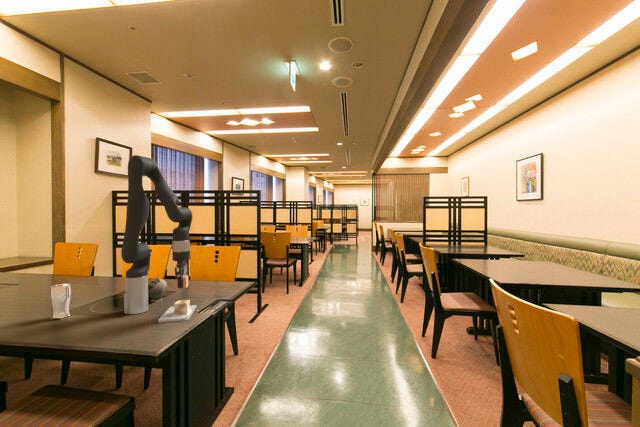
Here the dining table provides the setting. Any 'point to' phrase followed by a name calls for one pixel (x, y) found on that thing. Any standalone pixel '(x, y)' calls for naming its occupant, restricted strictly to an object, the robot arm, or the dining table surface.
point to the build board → (170, 316)
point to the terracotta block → (185, 282)
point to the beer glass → (61, 300)
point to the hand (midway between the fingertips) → (181, 286)
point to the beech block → (182, 307)
